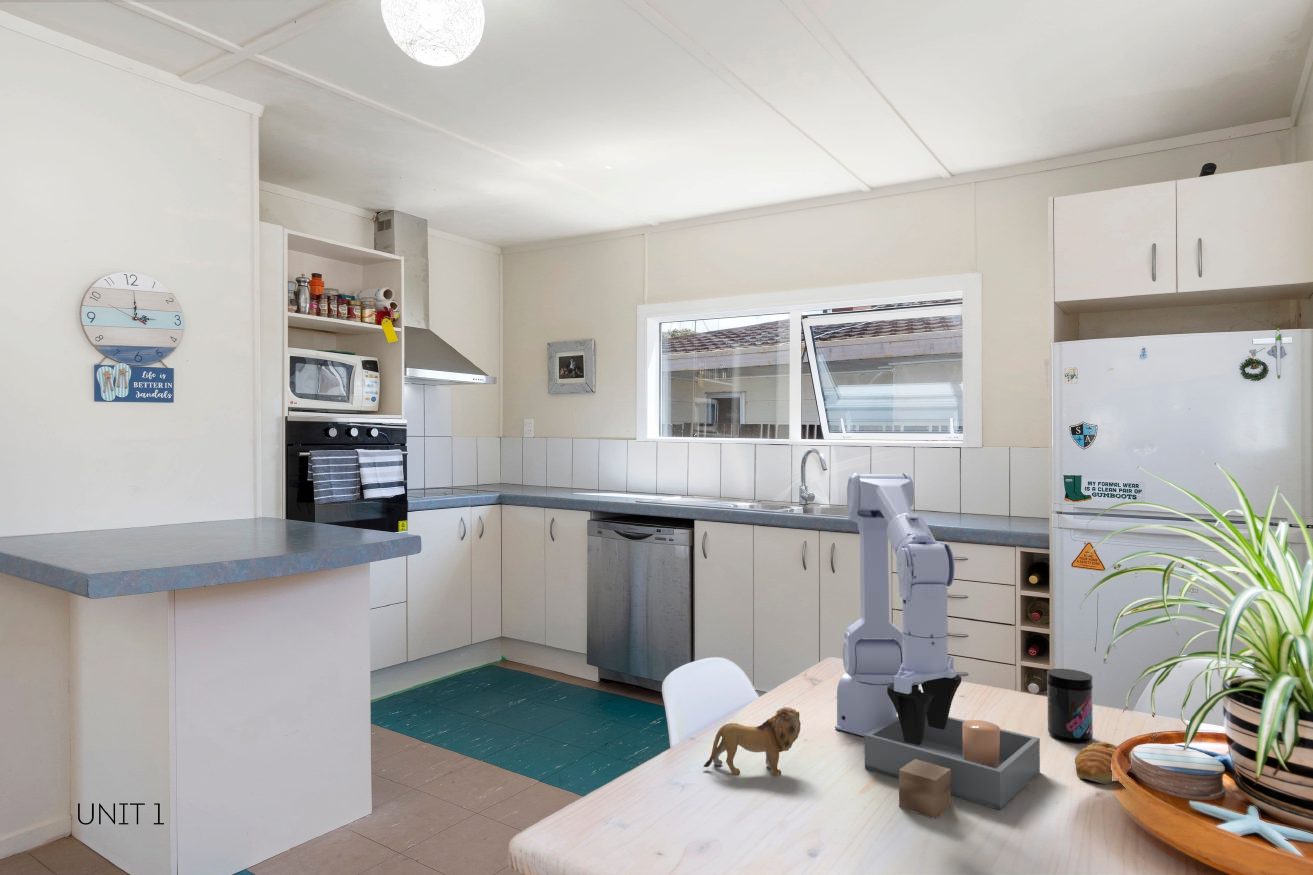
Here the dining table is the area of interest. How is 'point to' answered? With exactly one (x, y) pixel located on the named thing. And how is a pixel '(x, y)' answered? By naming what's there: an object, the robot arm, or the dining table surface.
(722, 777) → the dining table surface
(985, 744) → the terracotta cylinder
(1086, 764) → the pastry
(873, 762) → the tote
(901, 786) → the walnut block
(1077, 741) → the supplement container
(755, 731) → the lion figurine
